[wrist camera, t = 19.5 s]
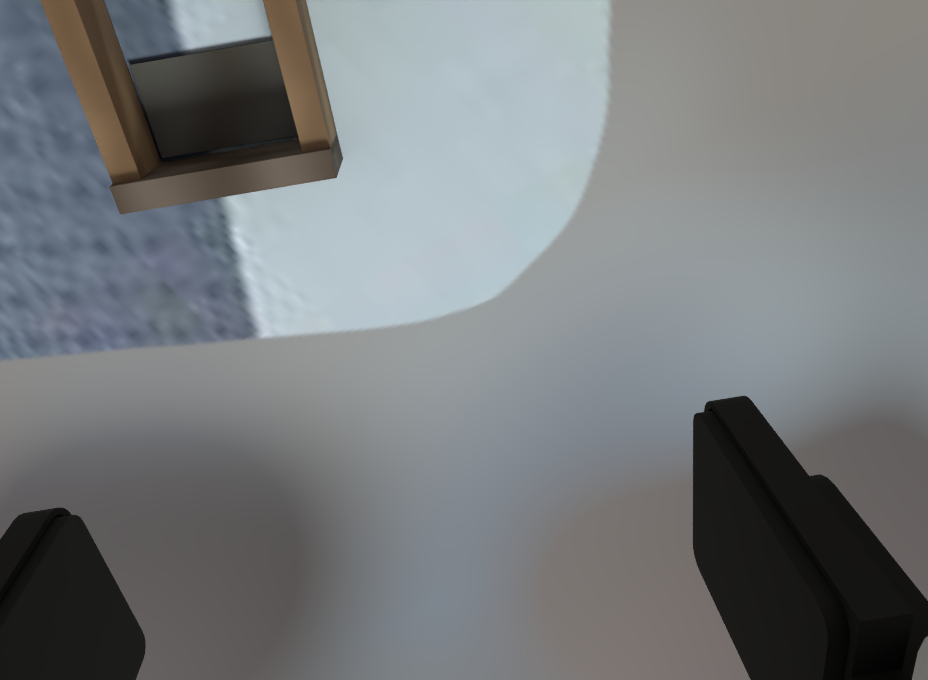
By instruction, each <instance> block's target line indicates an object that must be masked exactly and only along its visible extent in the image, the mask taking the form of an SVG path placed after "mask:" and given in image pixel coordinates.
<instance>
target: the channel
mask: <svg viewBox="0 0 928 680" xmlns="http://www.w3.org/2000/svg"><path fill="white" fill-rule="evenodd" d="M263 2H264V6H265V10H266V14H267V18H268V21H269V25H270V29H271V33H272V37H273V40H271V41H265V42H259V43H253V44H248V45H242V46H236V47H230V48H224V49H218V50H213V51H207V52H201V53H195V54H189V55H183V56H178V57H172V58H166V59H160V60H154V61H149V62H143V63H137V64H131V65H129V66H130V69H131V72H132V75H133V77H134V80H135V83H136V86H137V89H138V91H139V94H140V97H141V100H142V103H143V106H144V108H145V111H146V114H147V117H148V120H149V122H150V125H151V128H152V131H153V134H154V137H155V139H156V142H157V145H158V148H159V151H160V153H161V156H162V158H167V157H173V156H179V155H185V154H190V153H196V152H202V151H208V150H214V149H220V148H226V147H232V146H238V145H243V144H249V143H255V142H261V141H267V140H273V139H279V138H285V137H291V136H296V135H298V137H299V139H296V140H290V141H284V142H278V143H272V144H267V145H261V146H255V147H249V148H243V149H237V150H231V151H225V152H219V153H214V154H208V155H202V156H196V157H190V158H184V159H178V160H172V161H166V162H161V160H160V157H159V154H158V152H157V149H156V146H155V143H154V140H153V137H152V135H151V132H150V129H149V126H148V123H147V121H146V118H145V115H144V112H143V109H142V107H141V104H140V101H139V98H138V95H137V93H136V90H135V87H134V84H133V81H132V78H131V76H130V73H129V70H128V67H127V64H126V62H125V59H124V56H123V53H122V50H121V48H120V45H119V42H118V39H117V36H116V34H115V31H114V28H113V25H112V22H111V20H110V17H109V14H108V11H107V8H106V5H105V3H104V0H41V3H42V6H43V8H44V11H45V13H46V16H47V18H48V21H49V23H50V26H51V28H52V31H53V33H54V36H55V38H56V41H57V44H58V46H59V49H60V51H61V54H62V56H63V59H64V61H65V64H66V66H67V69H68V71H69V74H70V77H71V79H72V82H73V84H74V87H75V89H76V92H77V94H78V97H79V99H80V102H81V104H82V107H83V109H84V112H85V115H86V117H87V120H88V122H89V125H90V127H91V130H92V132H93V135H94V137H95V140H96V142H97V145H98V147H99V150H100V153H101V155H102V158H103V160H104V163H105V165H106V168H107V170H108V173H109V175H110V178H111V180H112V183H113V184H112V185H111V186H110V190H111V192H112V195H113V197H114V200H115V202H116V205H117V207H118V210H119V212H120V214H125V213H131V212H137V211H143V210H149V209H154V208H160V207H166V206H172V205H178V204H184V203H190V202H196V201H202V200H208V199H214V198H220V197H226V196H231V195H237V194H243V193H249V192H255V191H261V190H267V189H273V188H279V187H285V186H291V185H297V184H303V183H309V182H314V181H320V180H326V179H332V178H337V175H338V172H339V169H340V166H341V163H342V160H343V158H342V153H341V149H340V145H339V140H338V136H337V132H336V128H335V123H334V119H333V115H332V110H331V106H330V102H329V98H328V93H327V89H326V85H325V80H324V76H323V72H322V68H321V63H320V59H319V55H318V50H317V46H316V42H315V38H314V33H313V29H312V25H311V20H310V16H309V12H308V8H307V3H306V0H263Z"/></svg>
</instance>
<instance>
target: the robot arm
mask: <svg viewBox="0 0 928 680" xmlns="http://www.w3.org/2000/svg"><path fill="white" fill-rule="evenodd" d="M693 549H694V555H695V559H696V562H697V566H698V568H699V570H700V573H701V575H702V577H703V579H704V581H705V583H706V585H707V588H708V590H709V592H710V594H711V596H712V598H713V600H714V602H715V604H716V607H717V609H718V611H719V613H720V615H721V617H722V620H723V622H724V624H725V626H726V628H727V630H728V632H729V634H730V637H731V639H732V641H733V643H734V645H735V647H736V649H737V651H738V654H739V656H740V658H741V660H742V662H743V664H744V666H745V669H746V671H747V673H748V675H749V677H750V679H751V680H928V601H927V600H926V598H925V597H924V596H923V595H922V594H921V592H920V591H919V590H918V588H917V587H916V586H915V585H914V583H913V582H912V581H911V580H910V579H909V577H908V576H907V575H906V573H905V572H904V571H903V570H902V568H901V567H900V566H899V565H898V564H897V562H896V561H895V560H894V558H893V557H892V556H891V555H890V553H889V552H888V551H887V550H886V548H885V547H884V546H883V545H882V543H881V542H880V541H879V540H878V538H877V537H876V536H875V535H874V534H873V532H872V531H871V530H870V528H869V527H868V526H867V525H866V524H865V522H864V521H863V520H862V519H861V517H860V516H859V515H858V513H857V512H856V511H855V510H854V508H853V507H852V506H851V505H850V503H849V502H848V501H847V500H846V499H845V497H844V496H843V495H842V494H841V492H840V491H839V490H838V488H837V487H836V486H835V485H834V484H833V483H832V482H831V481H830V480H829V479H828V478H827V477H825V476H823V475H814V476H809V475H808V474H807V473H806V472H805V470H804V469H803V467H802V466H801V465H800V464H799V462H798V461H797V460H796V458H795V457H794V456H793V454H792V453H791V452H790V450H789V449H788V448H787V446H786V445H785V444H784V443H783V441H782V440H781V439H780V437H779V436H778V435H777V433H776V432H775V431H774V430H773V428H772V427H771V426H770V424H769V423H768V422H767V420H766V419H765V418H764V416H763V415H762V414H761V413H760V411H759V410H758V409H757V407H756V406H755V405H754V403H753V402H752V401H751V400H750V399H749V398H748V397H746V396H740V397H733V398H727V399H721V400H715V401H709V402H707V403H706V405H705V409H704V412H702V413H696V414H695V415H694V420H693ZM144 655H145V637H144V634H143V632H142V630H141V628H140V626H139V624H138V622H137V620H136V618H135V616H134V615H133V613H132V611H131V609H130V607H129V605H128V604H127V602H126V600H125V598H124V596H123V594H122V592H121V591H120V589H119V587H118V585H117V583H116V581H115V579H114V578H113V576H112V574H111V572H110V570H109V568H108V567H107V565H106V563H105V561H104V559H103V557H102V556H101V553H100V552H99V550H98V548H97V546H96V544H95V543H94V540H93V539H92V537H91V535H90V533H89V531H88V529H87V528H86V526H85V524H84V522H83V520H82V519H81V518H80V517H79V516H77V515H71V514H70V512H69V511H68V510H66V509H64V508H53V509H47V510H41V511H35V512H28V513H23V514H21V515H19V516H18V517H17V518H16V519H15V520H14V521H13V522H12V524H11V525H10V527H9V528H8V529H7V531H6V532H5V534H4V535H3V536H2V538H1V539H0V680H136V677H137V674H138V672H139V669H140V667H141V664H142V661H143V658H144Z"/></svg>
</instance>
